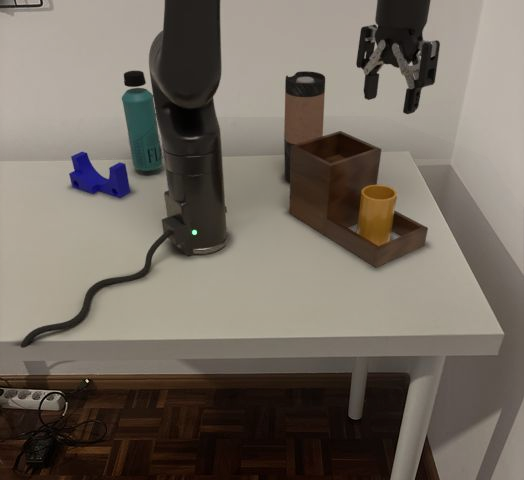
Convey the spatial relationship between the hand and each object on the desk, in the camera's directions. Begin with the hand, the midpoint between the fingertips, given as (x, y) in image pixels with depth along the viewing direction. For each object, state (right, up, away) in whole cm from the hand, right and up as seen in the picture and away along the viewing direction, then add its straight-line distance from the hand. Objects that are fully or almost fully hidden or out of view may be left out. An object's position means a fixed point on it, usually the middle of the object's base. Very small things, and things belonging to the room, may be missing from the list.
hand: (389, 105), depth 90 cm
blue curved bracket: (-54, -7, +25) cm, 60 cm away
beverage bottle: (-45, -1, +31) cm, 55 cm away
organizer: (-4, -17, +12) cm, 21 cm away
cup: (-1, -20, +9) cm, 22 cm away
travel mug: (-12, -4, +27) cm, 30 cm away
